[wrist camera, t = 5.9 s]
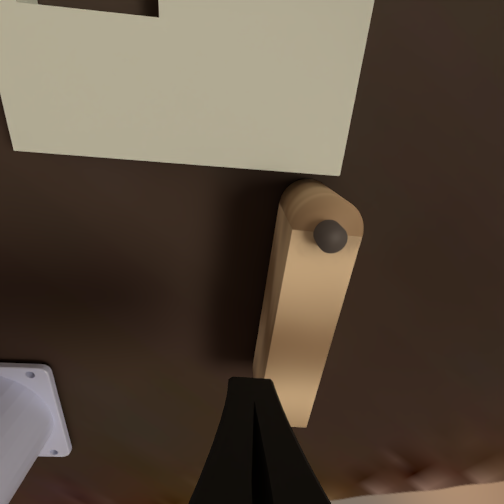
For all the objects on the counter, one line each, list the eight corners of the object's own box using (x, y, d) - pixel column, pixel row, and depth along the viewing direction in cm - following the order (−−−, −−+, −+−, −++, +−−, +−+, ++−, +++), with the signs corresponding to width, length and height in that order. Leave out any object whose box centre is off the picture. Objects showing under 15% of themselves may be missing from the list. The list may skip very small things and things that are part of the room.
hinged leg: (282, 174, 13) (302, 197, 9) (336, 181, 13) (380, 206, 9) (252, 362, 18) (256, 437, 13) (293, 365, 18) (309, 439, 14)
